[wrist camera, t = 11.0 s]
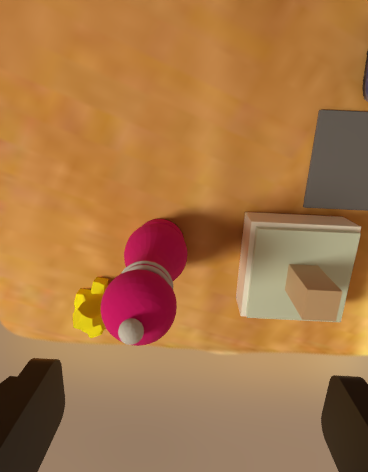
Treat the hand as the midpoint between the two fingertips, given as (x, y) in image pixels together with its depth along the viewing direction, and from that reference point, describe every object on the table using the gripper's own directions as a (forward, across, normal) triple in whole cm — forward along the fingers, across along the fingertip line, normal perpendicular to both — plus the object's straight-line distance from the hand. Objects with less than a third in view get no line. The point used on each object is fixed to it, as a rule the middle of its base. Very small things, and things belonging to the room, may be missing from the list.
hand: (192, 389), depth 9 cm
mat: (+30, -19, -5) cm, 36 cm away
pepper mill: (+30, +4, +6) cm, 31 cm away
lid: (+26, -12, +8) cm, 29 cm away
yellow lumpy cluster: (+30, +12, +16) cm, 36 cm away
